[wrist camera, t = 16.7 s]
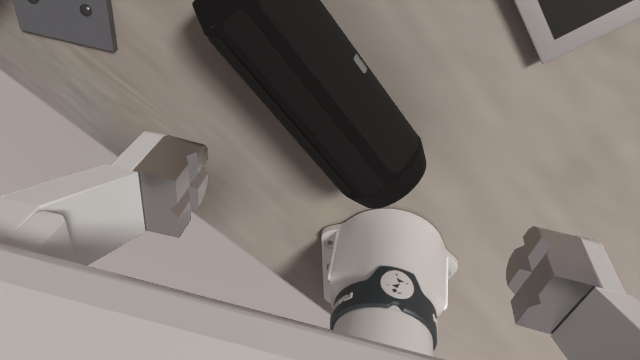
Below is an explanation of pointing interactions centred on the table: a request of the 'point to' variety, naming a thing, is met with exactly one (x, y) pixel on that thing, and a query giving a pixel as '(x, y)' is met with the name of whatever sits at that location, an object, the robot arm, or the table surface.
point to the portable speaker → (319, 93)
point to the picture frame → (572, 22)
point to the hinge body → (69, 21)
